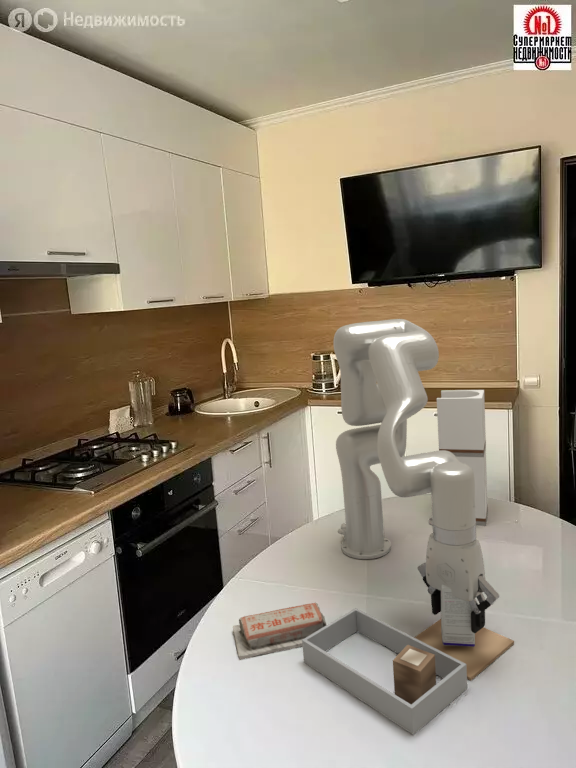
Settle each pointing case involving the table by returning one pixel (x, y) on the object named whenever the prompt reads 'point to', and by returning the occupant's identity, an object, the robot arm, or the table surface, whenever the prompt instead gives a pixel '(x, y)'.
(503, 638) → the cork mat
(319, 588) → the table surface
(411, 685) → the walnut block
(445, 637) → the supplement box
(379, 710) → the grey bin
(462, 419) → the tall striped box
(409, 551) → the table surface
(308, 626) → the packaged product
